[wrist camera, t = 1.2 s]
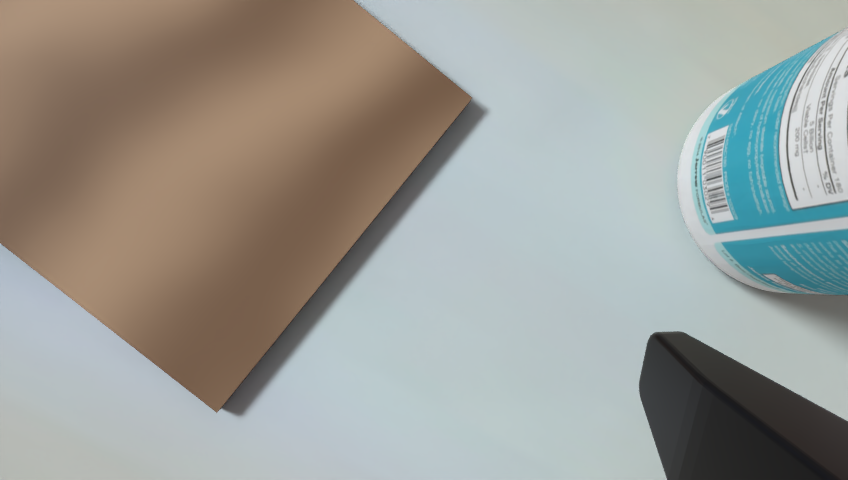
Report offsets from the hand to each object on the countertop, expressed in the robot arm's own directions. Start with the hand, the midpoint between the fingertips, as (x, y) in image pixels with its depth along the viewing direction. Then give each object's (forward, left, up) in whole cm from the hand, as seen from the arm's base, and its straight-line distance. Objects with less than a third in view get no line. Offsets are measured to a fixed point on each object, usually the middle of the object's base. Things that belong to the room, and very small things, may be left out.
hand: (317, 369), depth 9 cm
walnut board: (+9, -2, -14) cm, 17 cm away
